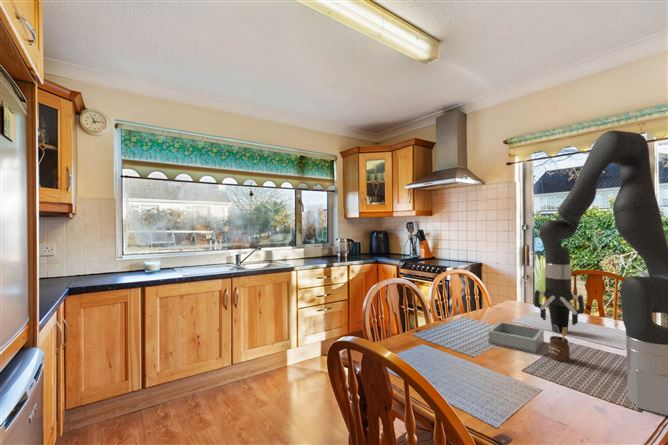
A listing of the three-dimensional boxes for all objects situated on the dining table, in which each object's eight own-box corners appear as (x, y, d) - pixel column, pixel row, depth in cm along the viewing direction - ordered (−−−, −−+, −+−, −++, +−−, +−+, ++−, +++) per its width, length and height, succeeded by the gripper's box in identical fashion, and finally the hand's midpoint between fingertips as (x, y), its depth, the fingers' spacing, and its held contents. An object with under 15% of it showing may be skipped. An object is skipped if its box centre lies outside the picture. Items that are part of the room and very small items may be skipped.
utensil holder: (560, 354, 113) (560, 321, 113) (574, 362, 107) (573, 327, 107) (545, 355, 113) (544, 321, 113) (558, 362, 106) (557, 327, 107)
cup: (553, 333, 135) (552, 305, 135) (546, 328, 142) (545, 301, 142) (574, 335, 132) (573, 306, 133) (566, 329, 140) (565, 302, 140)
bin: (535, 354, 114) (535, 340, 114) (488, 343, 125) (488, 331, 125) (543, 341, 125) (543, 329, 125) (500, 333, 136) (500, 321, 136)
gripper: (532, 275, 112) (533, 320, 112) (582, 280, 102) (583, 329, 102) (536, 273, 118) (537, 315, 118) (584, 277, 108) (585, 323, 108)
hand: (558, 322), depth 110 cm, fingers open, 8 cm apart
